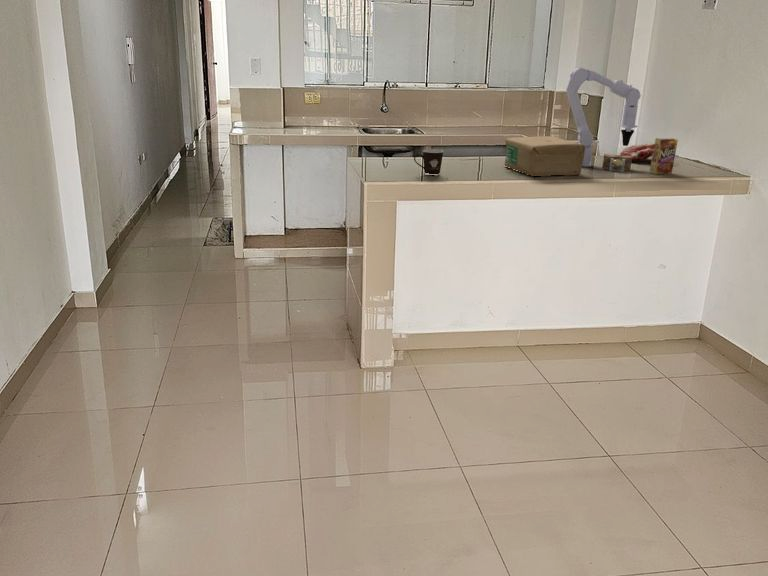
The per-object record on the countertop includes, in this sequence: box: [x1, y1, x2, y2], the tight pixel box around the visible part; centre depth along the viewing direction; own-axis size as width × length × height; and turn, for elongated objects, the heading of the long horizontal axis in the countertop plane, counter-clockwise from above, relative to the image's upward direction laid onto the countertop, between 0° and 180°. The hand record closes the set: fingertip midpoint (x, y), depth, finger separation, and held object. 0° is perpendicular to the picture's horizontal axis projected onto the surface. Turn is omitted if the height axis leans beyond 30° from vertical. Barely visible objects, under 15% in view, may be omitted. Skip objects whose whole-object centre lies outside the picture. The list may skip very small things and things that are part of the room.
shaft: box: [612, 159, 623, 170], centre depth 305 cm, size 5×10×5 cm, turn 164°
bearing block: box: [601, 153, 633, 172], centre depth 307 cm, size 12×6×6 cm, turn 74°
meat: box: [619, 142, 655, 160], centre depth 329 cm, size 21×21×10 cm
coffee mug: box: [413, 149, 444, 174], centre depth 285 cm, size 12×9×10 cm
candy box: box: [649, 137, 679, 175], centre depth 298 cm, size 9×4×15 cm, turn 103°
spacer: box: [608, 158, 625, 173], centre depth 303 cm, size 6×2×5 cm, turn 74°
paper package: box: [504, 135, 585, 177], centre depth 298 cm, size 27×26×14 cm
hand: (625, 145), depth 310 cm, fingers closed
